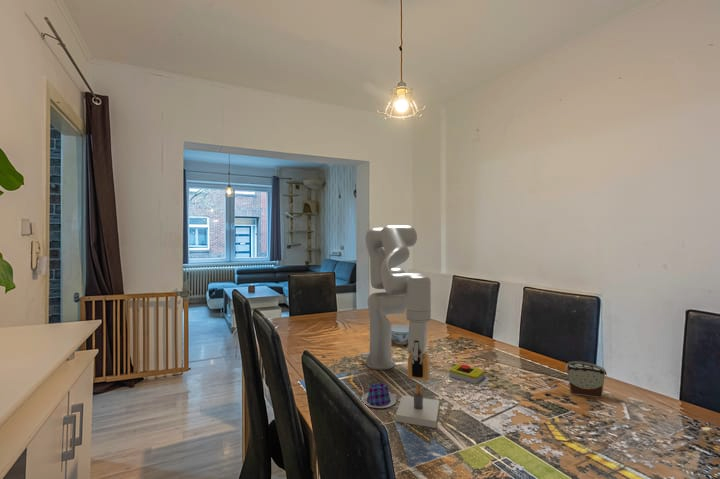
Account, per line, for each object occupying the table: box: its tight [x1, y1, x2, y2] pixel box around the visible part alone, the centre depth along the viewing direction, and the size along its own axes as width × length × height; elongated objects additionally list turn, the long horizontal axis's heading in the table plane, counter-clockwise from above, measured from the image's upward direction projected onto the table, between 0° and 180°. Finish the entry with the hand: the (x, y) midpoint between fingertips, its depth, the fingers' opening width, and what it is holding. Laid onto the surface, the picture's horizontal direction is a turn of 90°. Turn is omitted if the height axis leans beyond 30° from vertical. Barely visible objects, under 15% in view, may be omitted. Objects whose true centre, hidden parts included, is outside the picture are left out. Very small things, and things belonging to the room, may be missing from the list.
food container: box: [565, 360, 608, 399], centre depth 118 cm, size 12×6×10 cm, turn 71°
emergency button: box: [445, 363, 491, 386], centre depth 131 cm, size 9×4×15 cm
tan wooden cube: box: [407, 352, 431, 381], centre depth 103 cm, size 6×6×6 cm
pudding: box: [360, 382, 397, 409], centre depth 112 cm, size 12×12×5 cm
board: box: [395, 383, 440, 429], centre depth 103 cm, size 12×13×9 cm
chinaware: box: [391, 324, 409, 345], centre depth 175 cm, size 15×15×8 cm
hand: (418, 372), depth 103 cm, fingers closed on tan wooden cube, 5 cm apart
